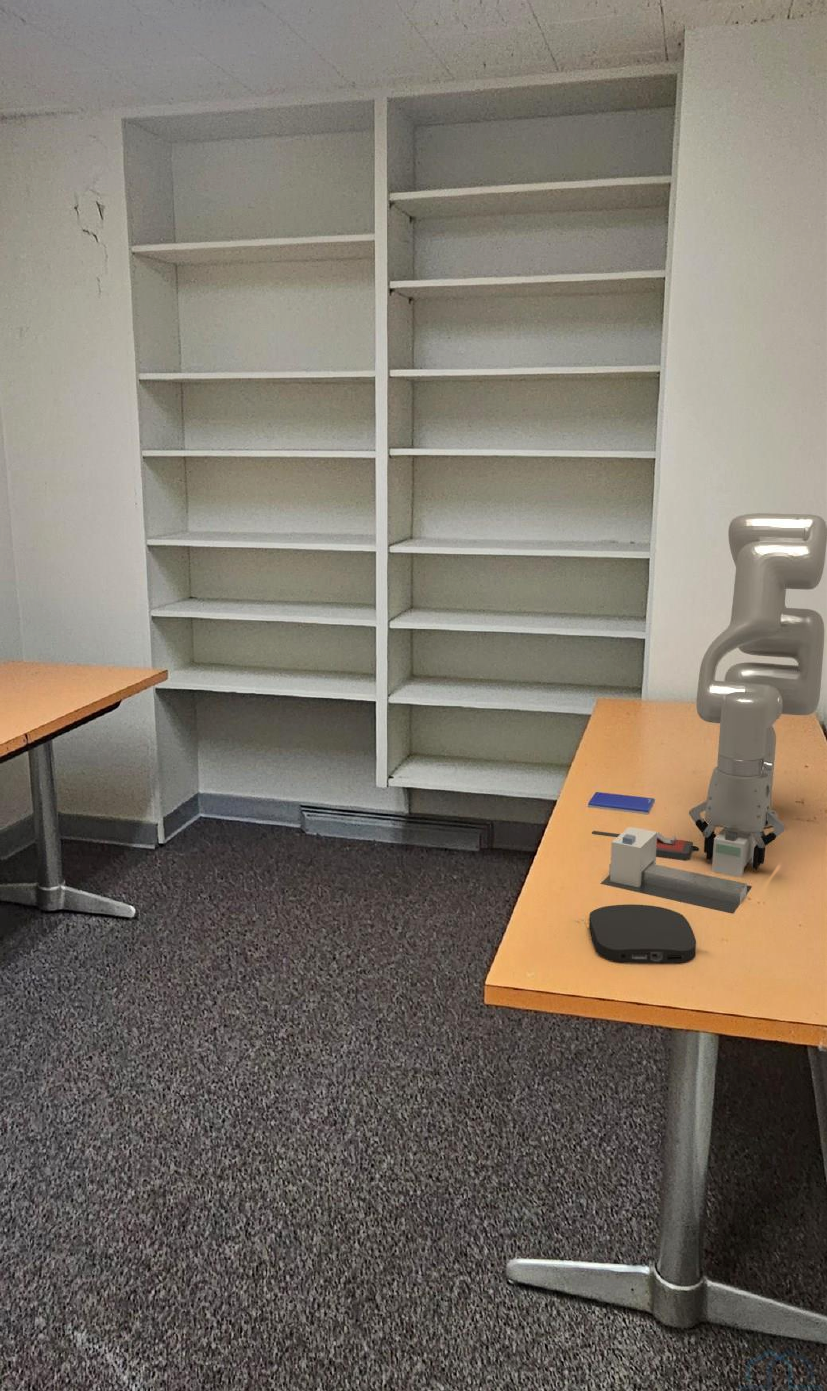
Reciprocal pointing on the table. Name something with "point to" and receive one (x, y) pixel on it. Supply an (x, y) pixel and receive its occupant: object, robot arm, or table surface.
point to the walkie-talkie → (666, 846)
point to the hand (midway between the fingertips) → (733, 861)
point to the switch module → (732, 852)
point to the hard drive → (621, 803)
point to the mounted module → (632, 855)
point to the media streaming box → (641, 934)
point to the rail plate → (678, 896)
